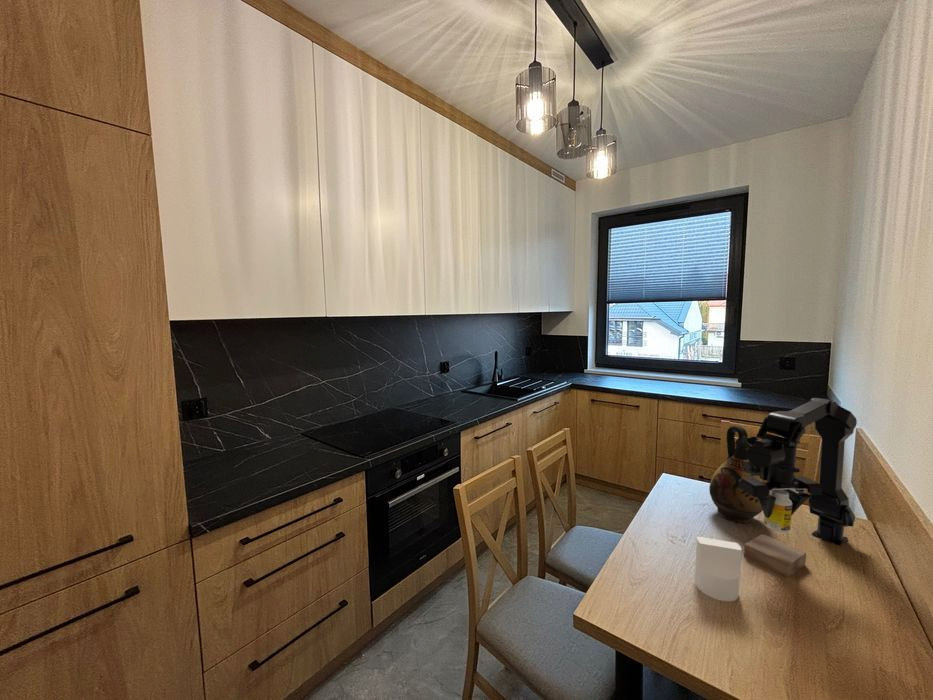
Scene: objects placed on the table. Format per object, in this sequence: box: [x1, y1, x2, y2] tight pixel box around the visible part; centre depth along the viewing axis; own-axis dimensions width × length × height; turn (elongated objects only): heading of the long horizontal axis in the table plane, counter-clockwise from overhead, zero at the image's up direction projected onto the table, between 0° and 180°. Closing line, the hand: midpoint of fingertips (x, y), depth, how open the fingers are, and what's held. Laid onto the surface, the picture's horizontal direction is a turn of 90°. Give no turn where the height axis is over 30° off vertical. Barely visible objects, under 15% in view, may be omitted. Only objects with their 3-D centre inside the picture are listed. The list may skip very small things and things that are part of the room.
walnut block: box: [743, 533, 807, 578], centre depth 103 cm, size 10×10×4 cm
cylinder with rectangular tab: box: [694, 536, 742, 602], centre depth 92 cm, size 9×9×12 cm
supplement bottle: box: [763, 490, 792, 533], centre depth 101 cm, size 6×6×10 cm
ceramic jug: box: [708, 424, 764, 524], centre depth 125 cm, size 17×15×30 cm
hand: (777, 516), depth 102 cm, fingers closed on supplement bottle, 5 cm apart
